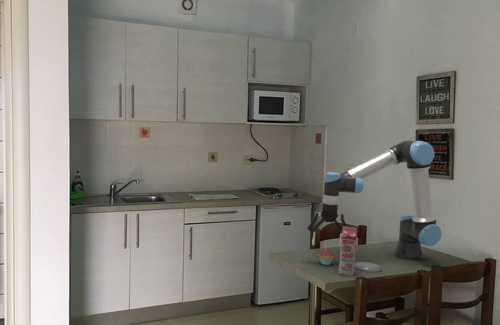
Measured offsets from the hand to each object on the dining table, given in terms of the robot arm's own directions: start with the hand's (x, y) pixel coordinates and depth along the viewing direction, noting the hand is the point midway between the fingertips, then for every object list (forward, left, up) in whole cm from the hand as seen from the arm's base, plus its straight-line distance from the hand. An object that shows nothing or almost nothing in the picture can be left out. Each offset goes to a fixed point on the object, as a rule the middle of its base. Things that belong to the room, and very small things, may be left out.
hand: (326, 245), depth 229 cm
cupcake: (0, 0, -10) cm, 10 cm away
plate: (-20, +3, -9) cm, 22 cm away
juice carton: (-8, +13, -10) cm, 18 cm away
